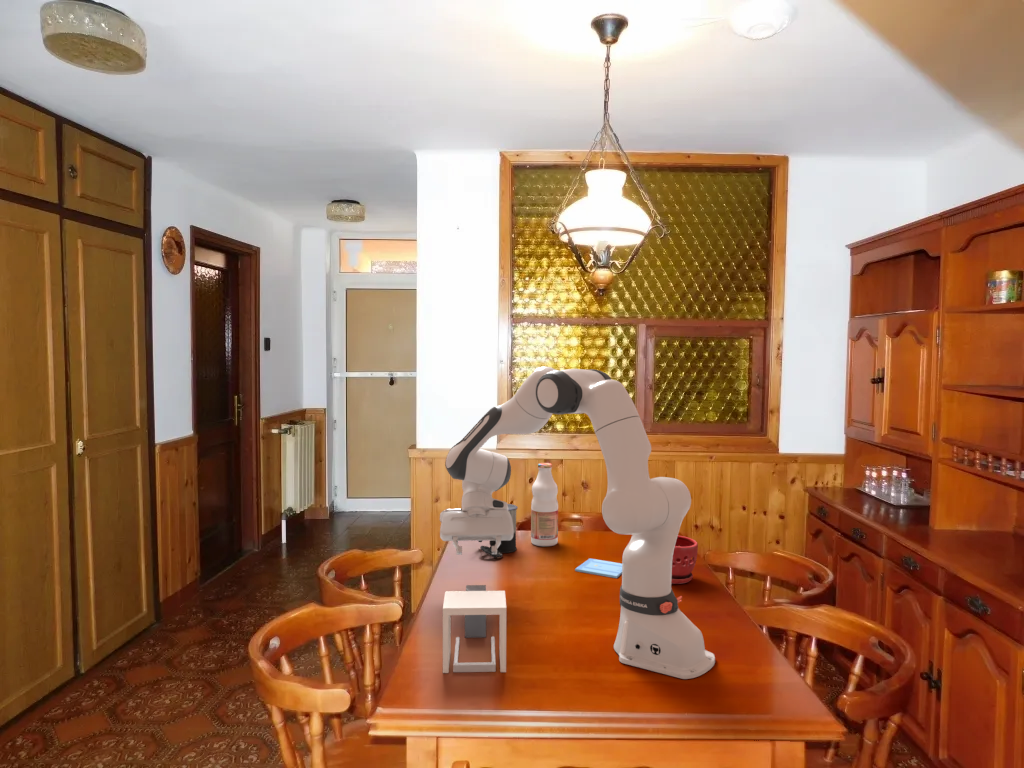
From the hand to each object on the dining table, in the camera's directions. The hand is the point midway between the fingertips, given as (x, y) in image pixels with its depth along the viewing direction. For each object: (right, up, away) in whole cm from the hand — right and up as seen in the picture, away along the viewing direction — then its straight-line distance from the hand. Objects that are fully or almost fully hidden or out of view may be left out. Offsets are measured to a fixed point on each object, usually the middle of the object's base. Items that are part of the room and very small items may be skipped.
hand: (476, 553), depth 184 cm
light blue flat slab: (+37, -13, +29) cm, 49 cm away
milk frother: (+5, -11, +45) cm, 47 cm away
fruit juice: (+21, -10, +56) cm, 61 cm away
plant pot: (+58, -13, +20) cm, 62 cm away
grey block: (0, -14, -15) cm, 21 cm away
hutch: (+1, -15, -30) cm, 33 cm away
